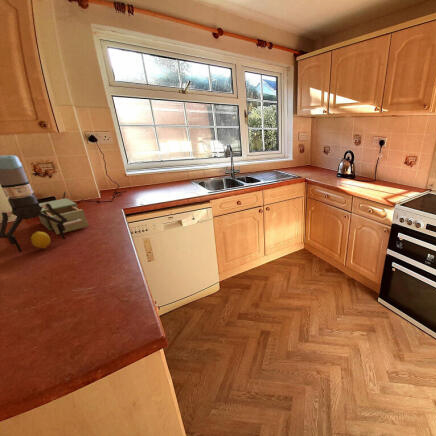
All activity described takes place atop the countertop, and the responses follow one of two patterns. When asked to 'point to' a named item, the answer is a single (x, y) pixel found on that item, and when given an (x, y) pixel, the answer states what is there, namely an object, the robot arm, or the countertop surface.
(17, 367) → the countertop surface
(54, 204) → the cabinet
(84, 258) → the countertop surface
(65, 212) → the drawer
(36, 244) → the lemon
